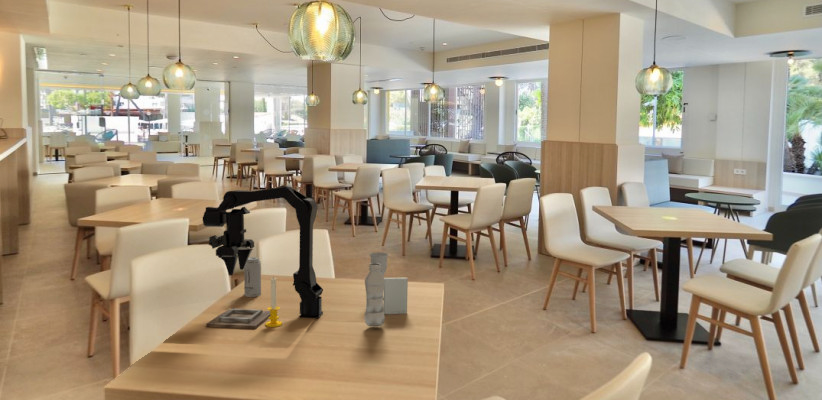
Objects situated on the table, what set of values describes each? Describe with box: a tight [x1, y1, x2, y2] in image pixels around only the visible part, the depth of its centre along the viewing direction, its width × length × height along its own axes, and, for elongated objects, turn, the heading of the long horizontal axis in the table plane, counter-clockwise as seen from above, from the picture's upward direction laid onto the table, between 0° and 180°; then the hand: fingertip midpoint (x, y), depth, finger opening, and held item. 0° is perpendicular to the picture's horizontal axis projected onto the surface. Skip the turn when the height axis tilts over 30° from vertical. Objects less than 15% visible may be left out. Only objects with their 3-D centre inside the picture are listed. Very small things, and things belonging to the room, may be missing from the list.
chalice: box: [369, 252, 389, 301], centre depth 202 cm, size 7×7×18 cm
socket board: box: [205, 308, 270, 330], centre depth 177 cm, size 16×16×2 cm
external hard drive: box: [383, 277, 409, 315], centre depth 188 cm, size 2×8×12 cm, turn 98°
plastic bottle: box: [364, 262, 386, 328], centre depth 173 cm, size 6×7×20 cm
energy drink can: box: [243, 256, 262, 298], centre depth 205 cm, size 6×6×15 cm
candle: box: [264, 276, 283, 328], centre depth 173 cm, size 5×5×16 cm
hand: (236, 272), depth 186 cm, fingers open, 9 cm apart
